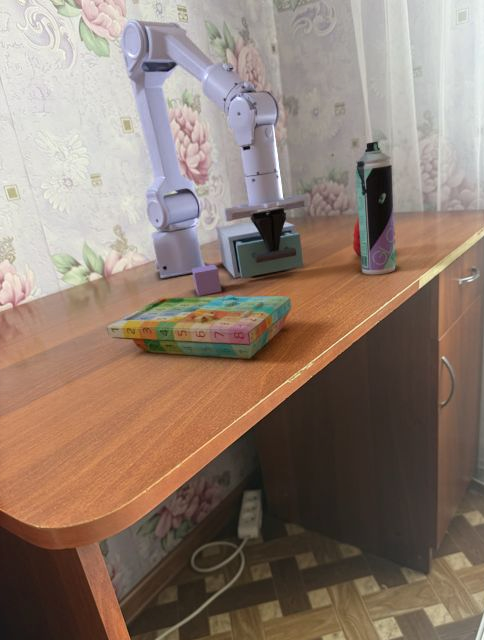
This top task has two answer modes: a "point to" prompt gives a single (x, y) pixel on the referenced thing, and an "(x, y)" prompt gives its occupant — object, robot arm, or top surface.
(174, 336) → the puzzle game
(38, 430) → the top surface
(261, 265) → the open teal drawer
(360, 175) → the spray can
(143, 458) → the top surface
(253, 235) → the mini drawer cabinet
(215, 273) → the lavender toy cube
